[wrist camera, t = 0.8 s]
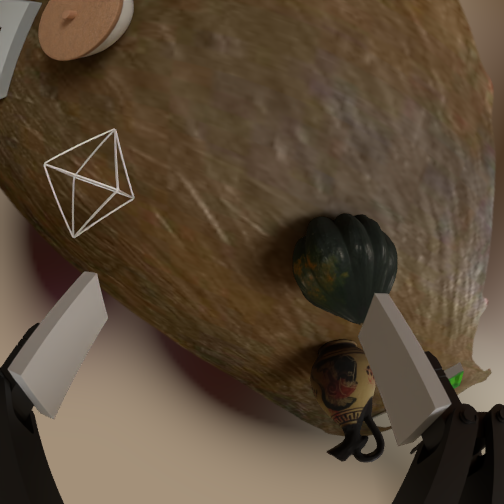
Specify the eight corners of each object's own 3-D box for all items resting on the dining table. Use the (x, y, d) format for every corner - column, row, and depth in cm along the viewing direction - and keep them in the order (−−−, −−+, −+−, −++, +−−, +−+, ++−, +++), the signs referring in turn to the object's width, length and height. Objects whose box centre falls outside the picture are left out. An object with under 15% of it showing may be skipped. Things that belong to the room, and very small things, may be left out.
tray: (456, 377, 93) (459, 385, 90) (412, 398, 102) (415, 407, 98) (459, 361, 80) (463, 371, 77) (408, 387, 89) (410, 397, 85)
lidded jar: (164, 5, 20) (134, -12, 13) (109, 71, 25) (68, 79, 17) (108, -26, 15) (70, -41, 8) (60, 38, 20) (15, 42, 13)
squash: (341, 184, 30) (319, 317, 27) (419, 226, 34) (407, 332, 31) (288, 213, 43) (268, 307, 40) (359, 240, 47) (345, 323, 45)
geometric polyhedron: (83, 118, 28) (44, 139, 21) (151, 140, 31) (123, 166, 24) (72, 192, 35) (41, 225, 28) (130, 215, 38) (107, 253, 31)
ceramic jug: (310, 368, 68) (322, 473, 45) (303, 340, 59) (318, 470, 36) (370, 354, 66) (394, 456, 42) (375, 323, 56) (408, 447, 33)
